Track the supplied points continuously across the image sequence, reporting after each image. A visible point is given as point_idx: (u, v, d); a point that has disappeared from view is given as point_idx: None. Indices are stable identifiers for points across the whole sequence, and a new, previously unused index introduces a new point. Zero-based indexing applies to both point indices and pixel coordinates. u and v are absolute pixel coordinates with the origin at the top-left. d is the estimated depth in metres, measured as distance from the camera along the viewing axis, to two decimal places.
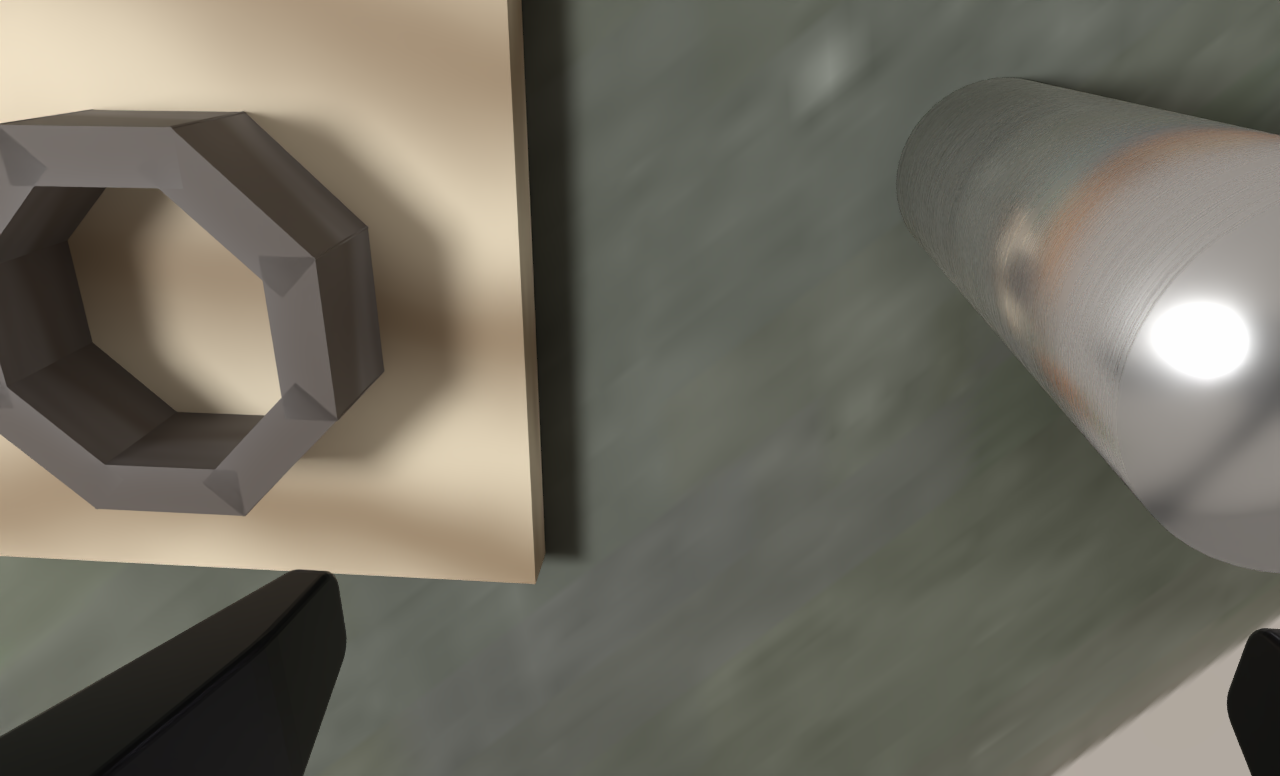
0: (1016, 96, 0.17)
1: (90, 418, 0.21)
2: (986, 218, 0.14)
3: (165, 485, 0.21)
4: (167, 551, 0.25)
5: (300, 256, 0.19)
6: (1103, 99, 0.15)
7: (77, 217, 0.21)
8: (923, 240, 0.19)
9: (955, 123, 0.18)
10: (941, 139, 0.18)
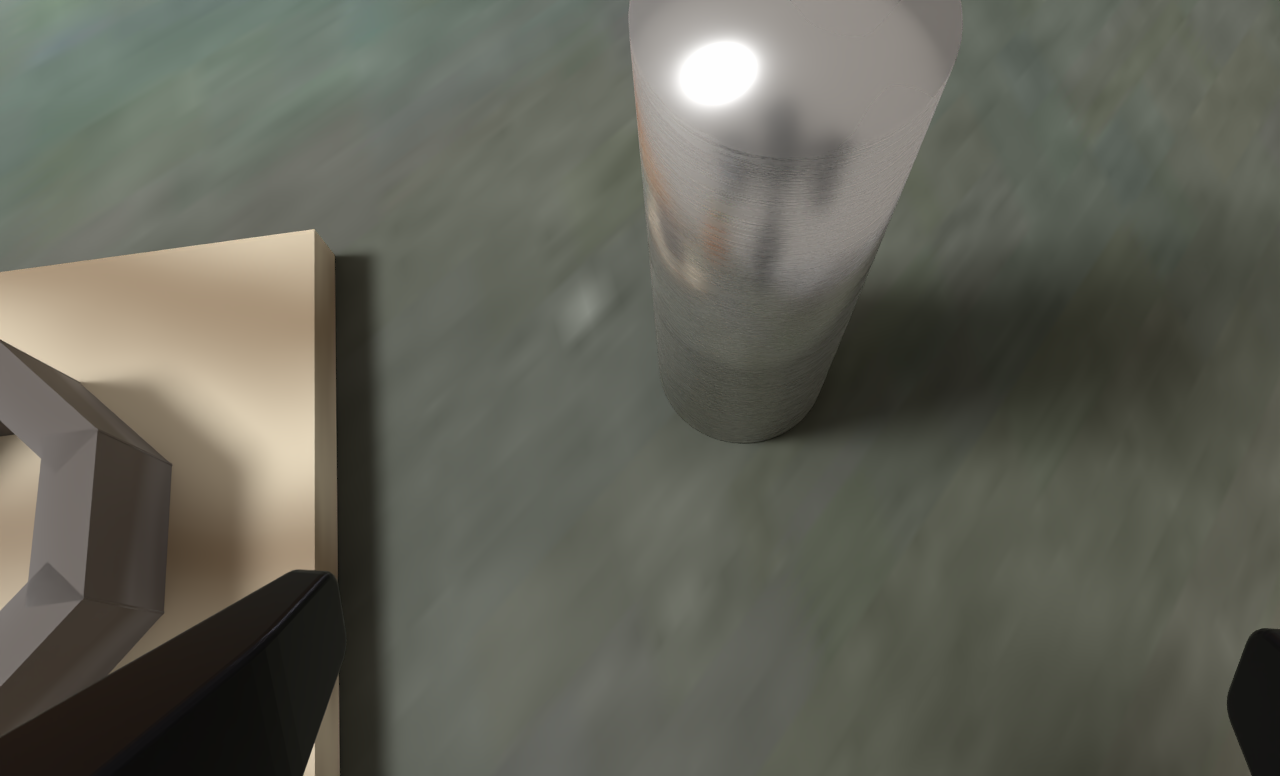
0: None
1: None
2: None
3: None
4: None
5: (84, 431, 0.20)
6: None
7: None
8: (671, 375, 0.22)
9: None
10: None
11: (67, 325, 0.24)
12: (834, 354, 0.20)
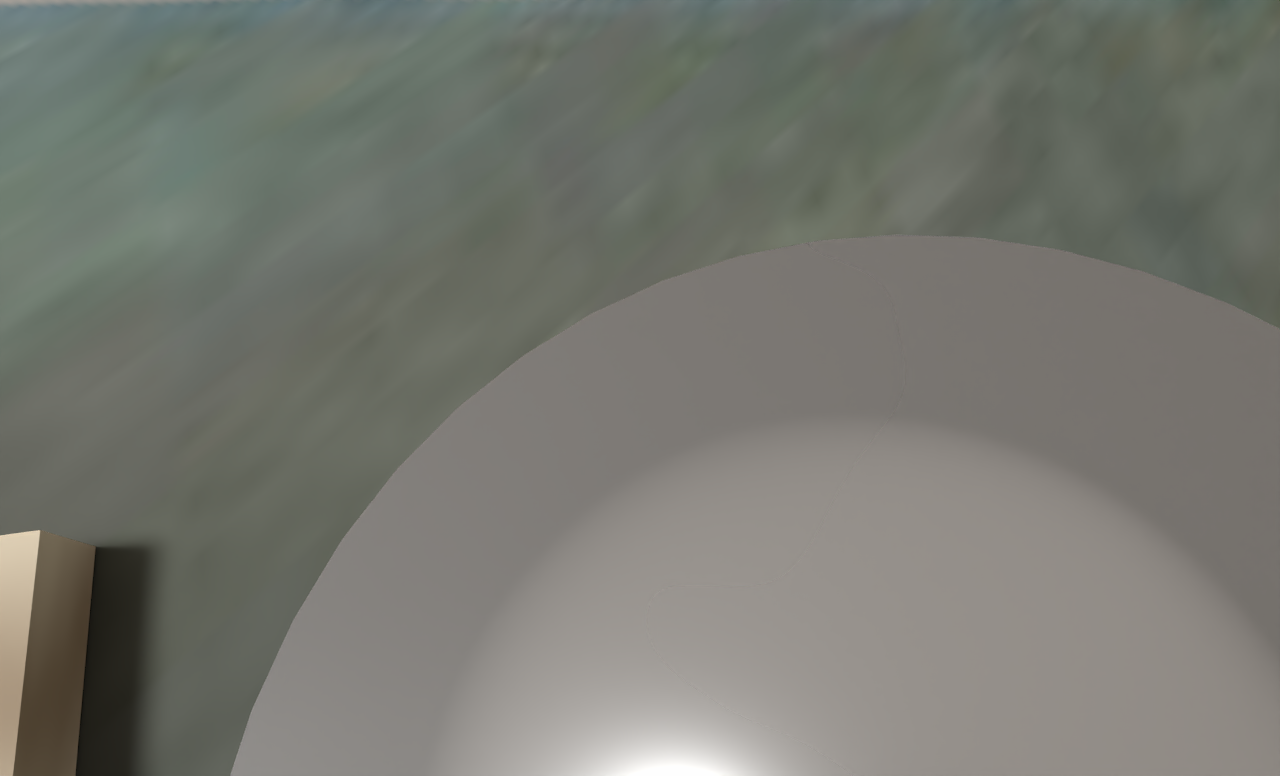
0: None
1: None
2: None
3: None
4: None
5: None
6: None
7: None
8: None
9: None
10: None
11: None
12: None
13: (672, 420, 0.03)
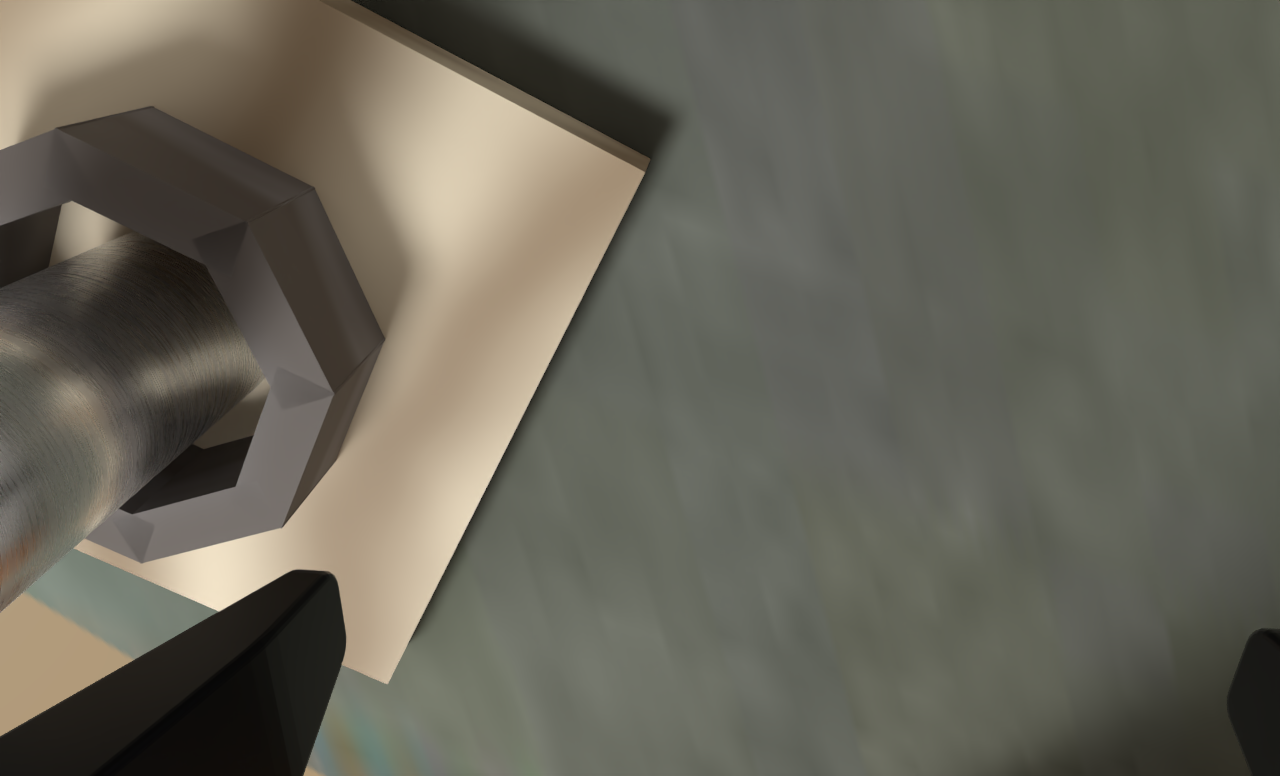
0: None
1: (213, 477, 0.20)
2: None
3: (276, 446, 0.19)
4: (443, 533, 0.23)
5: (54, 143, 0.16)
6: None
7: None
8: None
9: None
10: None
11: None
12: (116, 285, 0.17)
13: None
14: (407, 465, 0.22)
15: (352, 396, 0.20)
